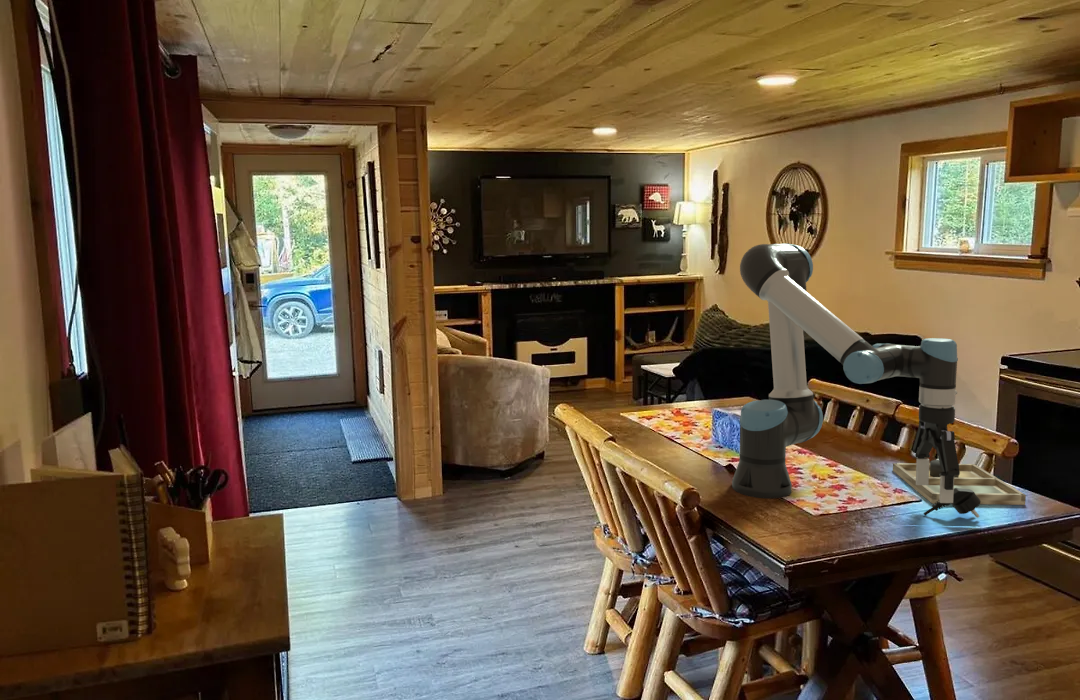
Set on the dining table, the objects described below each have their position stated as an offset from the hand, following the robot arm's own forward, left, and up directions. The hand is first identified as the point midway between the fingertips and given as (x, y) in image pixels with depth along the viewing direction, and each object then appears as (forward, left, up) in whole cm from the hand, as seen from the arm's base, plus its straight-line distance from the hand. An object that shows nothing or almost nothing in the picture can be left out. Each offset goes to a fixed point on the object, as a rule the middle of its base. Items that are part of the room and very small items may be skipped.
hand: (933, 493), depth 183 cm
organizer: (+15, +23, -6) cm, 28 cm away
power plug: (0, 0, -8) cm, 8 cm away
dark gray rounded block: (+15, +29, -5) cm, 33 cm away
